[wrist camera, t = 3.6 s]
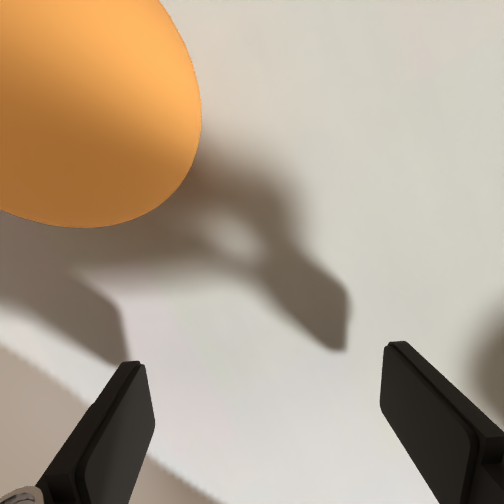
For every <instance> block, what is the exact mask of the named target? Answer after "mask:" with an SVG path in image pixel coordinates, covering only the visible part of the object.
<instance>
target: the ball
mask: <svg viewBox="0 0 504 504" xmlns="http://www.w3.org/2000/svg"><path fill="white" fill-rule="evenodd" d="M201 122H202V114H201V99H200V93H199V86H198V82H197V78H196V75H195V71H194V67H193V64H192V61H191V58H190V56H189V53H188V51H187V48H186V46H185V43H184V41H183V40H182V38H181V36H180V34H179V32H178V30H177V28H176V27H175V25H174V23H173V21H172V19H171V17H170V16H169V14H168V13H167V11H166V10H165V8H164V7H163V5H162V4H161V2H160V1H159V0H0V210H2V211H5V212H7V213H10V214H13V215H15V216H18V217H21V218H24V219H28V220H32V221H36V222H40V223H44V224H48V225H54V226H61V227H72V228H96V227H104V226H111V225H116V224H120V223H124V222H128V221H130V220H133V219H135V218H138V217H140V216H142V215H144V214H146V213H148V212H150V211H151V210H153V209H155V208H156V207H158V206H159V205H161V204H162V203H163V202H164V201H166V200H167V199H168V198H169V197H170V196H171V195H172V194H173V193H174V192H175V191H176V190H177V188H178V187H179V186H180V184H181V183H182V181H183V180H184V179H185V177H186V175H187V173H188V171H189V169H190V167H191V165H192V163H193V160H194V158H195V155H196V152H197V148H198V144H199V139H200V133H201Z"/></svg>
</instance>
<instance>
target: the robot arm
mask: <svg viewBox="0 0 504 504" xmlns="http://www.w3.org/2000/svg"><path fill="white" fill-rule="evenodd" d="M380 408H381V411H382V413H383V414H384V416H385V418H386V419H387V421H388V422H389V424H390V426H391V427H392V429H393V430H394V432H395V434H396V435H397V437H398V438H399V440H400V442H401V443H402V445H403V446H404V448H405V449H406V451H407V453H408V454H409V456H410V457H411V459H412V461H413V462H414V464H415V465H416V467H417V469H418V470H419V472H420V473H421V475H422V476H423V478H424V480H425V481H426V483H427V484H428V486H429V488H430V489H431V491H432V492H433V494H434V496H435V497H436V499H437V500H438V502H439V504H504V432H503V431H502V430H501V429H500V428H499V427H498V426H497V425H496V424H495V423H494V422H492V421H491V420H490V419H489V418H488V417H487V416H486V415H485V414H484V413H483V412H482V411H481V410H480V409H478V408H477V407H476V406H475V405H474V404H473V403H472V402H471V401H470V400H469V399H468V398H467V397H466V396H464V395H463V394H462V393H461V392H460V391H459V390H458V389H457V388H456V387H455V386H454V385H453V384H452V383H450V382H449V381H448V380H447V379H446V378H445V377H444V376H443V375H442V374H441V373H440V372H439V371H438V370H436V369H435V368H434V367H433V366H432V365H431V364H430V363H429V362H428V361H427V360H426V359H425V358H424V357H422V356H421V355H420V354H419V353H418V352H417V351H416V350H415V349H414V348H413V347H412V346H411V345H410V344H408V343H407V342H406V341H396V342H389V343H388V346H385V348H384V354H383V367H382V379H381V392H380ZM154 428H155V418H154V413H153V407H152V402H151V396H150V391H149V385H148V380H147V374H146V369H145V365H143V364H140V362H139V361H127V362H122V363H121V364H120V366H119V367H118V369H117V370H116V372H115V373H114V375H113V376H112V377H111V379H110V380H109V382H108V383H107V385H106V386H105V388H104V389H103V391H102V392H101V394H100V395H99V397H98V398H97V399H96V401H95V402H94V403H93V404H92V405H91V406H90V407H89V409H88V410H87V411H86V413H85V414H84V416H83V417H82V419H81V420H80V422H79V423H78V424H77V426H76V427H75V429H74V430H73V432H72V433H71V435H70V436H69V438H68V439H67V440H66V442H65V443H64V445H63V446H62V448H61V449H60V451H59V452H58V453H57V455H56V456H55V458H54V459H53V461H52V462H51V464H50V465H49V466H48V468H47V470H46V471H45V472H44V474H43V475H42V477H41V478H40V480H39V481H38V482H37V484H36V485H35V486H25V487H22V488H18V489H15V490H13V491H11V492H10V493H8V494H6V495H4V496H2V497H1V498H0V504H128V502H129V500H130V497H131V494H132V491H133V488H134V486H135V483H136V480H137V477H138V474H139V471H140V469H141V466H142V463H143V461H144V458H145V455H146V452H147V449H148V447H149V444H150V441H151V438H152V435H153V432H154Z"/></svg>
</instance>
